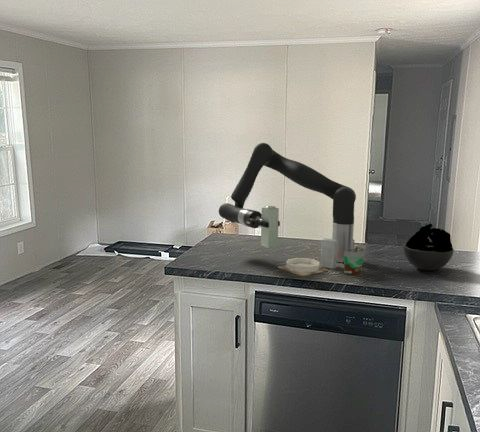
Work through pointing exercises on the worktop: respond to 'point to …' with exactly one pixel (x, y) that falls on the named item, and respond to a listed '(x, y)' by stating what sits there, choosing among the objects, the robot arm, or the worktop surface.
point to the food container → (353, 261)
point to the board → (302, 273)
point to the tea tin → (270, 226)
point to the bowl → (302, 265)
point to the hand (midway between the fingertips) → (273, 224)
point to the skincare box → (329, 253)
